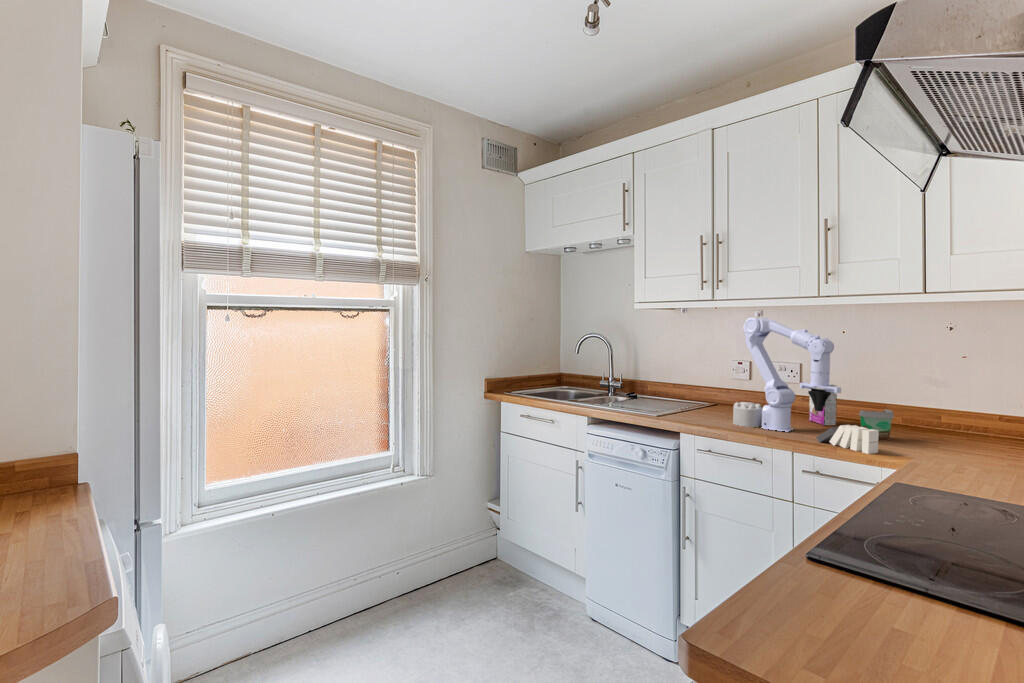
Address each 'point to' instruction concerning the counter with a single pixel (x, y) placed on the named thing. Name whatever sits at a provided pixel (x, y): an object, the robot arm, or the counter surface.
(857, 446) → the domino
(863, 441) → the domino
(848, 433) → the domino
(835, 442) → the domino
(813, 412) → the candy bar box
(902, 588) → the counter surface
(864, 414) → the food container
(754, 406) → the lumpy-topped squat cylinder
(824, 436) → the black domino
